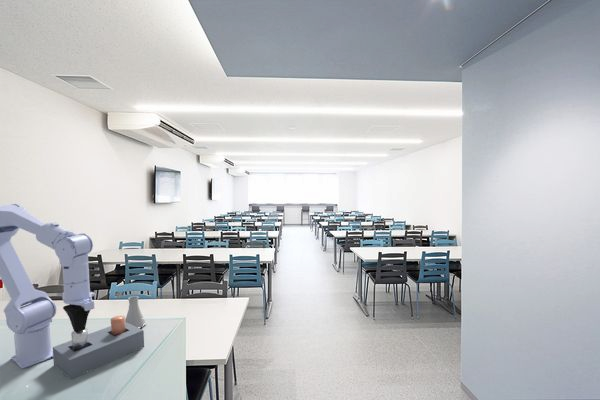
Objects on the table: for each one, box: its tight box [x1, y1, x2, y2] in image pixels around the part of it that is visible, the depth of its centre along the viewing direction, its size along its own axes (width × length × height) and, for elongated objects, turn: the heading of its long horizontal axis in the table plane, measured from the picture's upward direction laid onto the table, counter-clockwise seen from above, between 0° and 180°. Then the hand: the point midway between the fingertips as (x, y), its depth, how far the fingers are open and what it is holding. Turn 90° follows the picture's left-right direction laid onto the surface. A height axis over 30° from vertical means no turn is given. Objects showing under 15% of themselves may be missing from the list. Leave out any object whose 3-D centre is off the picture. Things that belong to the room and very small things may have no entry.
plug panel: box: [52, 322, 145, 380], centre depth 93 cm, size 11×19×5 cm, turn 145°
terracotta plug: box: [110, 315, 126, 336], centre depth 96 cm, size 4×4×4 cm
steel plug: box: [70, 327, 89, 351], centre depth 88 cm, size 4×4×4 cm
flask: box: [125, 295, 146, 327], centre depth 110 cm, size 7×7×10 cm
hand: (79, 330), depth 88 cm, fingers closed
